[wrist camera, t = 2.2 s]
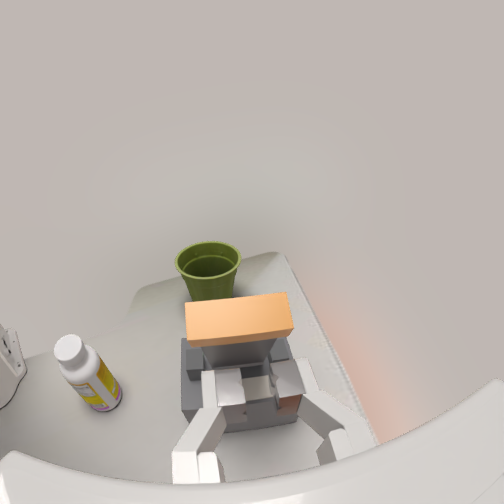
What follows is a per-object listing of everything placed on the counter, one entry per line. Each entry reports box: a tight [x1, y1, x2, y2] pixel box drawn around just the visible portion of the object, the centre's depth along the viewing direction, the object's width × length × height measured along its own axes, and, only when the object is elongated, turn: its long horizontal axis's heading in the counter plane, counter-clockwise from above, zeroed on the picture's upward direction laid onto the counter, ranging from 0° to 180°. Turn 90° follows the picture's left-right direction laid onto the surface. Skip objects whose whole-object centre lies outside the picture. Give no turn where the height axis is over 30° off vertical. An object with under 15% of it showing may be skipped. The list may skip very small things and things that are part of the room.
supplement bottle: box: [54, 334, 121, 411], centre depth 31 cm, size 7×7×13 cm
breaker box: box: [181, 337, 298, 433], centre depth 33 cm, size 11×14×12 cm
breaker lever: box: [185, 292, 294, 370], centre depth 24 cm, size 3×7×17 cm, turn 99°
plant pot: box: [175, 241, 241, 302], centre depth 51 cm, size 12×12×11 cm
